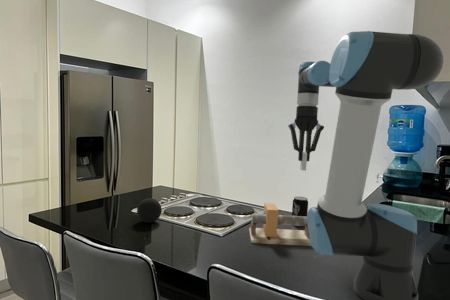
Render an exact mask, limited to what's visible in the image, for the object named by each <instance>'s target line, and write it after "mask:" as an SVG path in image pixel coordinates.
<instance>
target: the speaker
mask: <svg viewBox="0 0 450 300" xmlns="http://www.w3.org/2000/svg"><path fill="white" fill-rule="evenodd" d="M162 211H163V209H162V205H161V203H160V202H159V201H158V200H157V199H155V198H152V197H151V198H149V197H148V198H145V199H143V200H141V201H140V203H138V205H137V208H136V214H137V216H138V218H139V220H141V221H142V222H144V223H147V224H151V223H153V222H156V221H158V219H160V217H161V215H162Z"/></svg>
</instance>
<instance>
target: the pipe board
mask: <svg viewBox="0 0 450 300" xmlns="http://www.w3.org/2000/svg"><path fill="white" fill-rule="evenodd" d="M251 216H252V218H251V221H250V227H249V228H248V232H249V236H250V237H249V238H250V242H251V244H263V245H265V244H266V245H281V246H283V245H286V246H302V247H304V246H305V247H312V244H311V241H310V237H309V232H308V222H307V217H306V216H292V215H283V214H278V225H277V226H280V225H281V226H294V227H297V226H305V227H304V229H303V230H301V229H285V228H284V229H283V228H277V237H267V236H266V235H265V232H264V229H263V227H257V225H259V224H260V225H263V224H266V214H264V213H252V215H251Z"/></svg>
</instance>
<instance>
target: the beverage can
mask: <svg viewBox="0 0 450 300" xmlns="http://www.w3.org/2000/svg"><path fill="white" fill-rule="evenodd" d="M291 207H292V209H291V216H306V217H307V216H308V211H309V201H308V198H307V197H306V196H294V197H293V200H292V206H291ZM296 227H298V228H305V226H296Z"/></svg>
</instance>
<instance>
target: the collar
mask: <svg viewBox="0 0 450 300" xmlns="http://www.w3.org/2000/svg"><path fill="white" fill-rule="evenodd" d="M263 205H264V206H263V214H266V224H262V228H263V229H264V232H265V235H266V236H267V237H277V229H278V226H279V225H278V215H279V209H278V207H277V205H276V204H275V203H270V202H268V203H266V202H265V203H264V204H263Z"/></svg>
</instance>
